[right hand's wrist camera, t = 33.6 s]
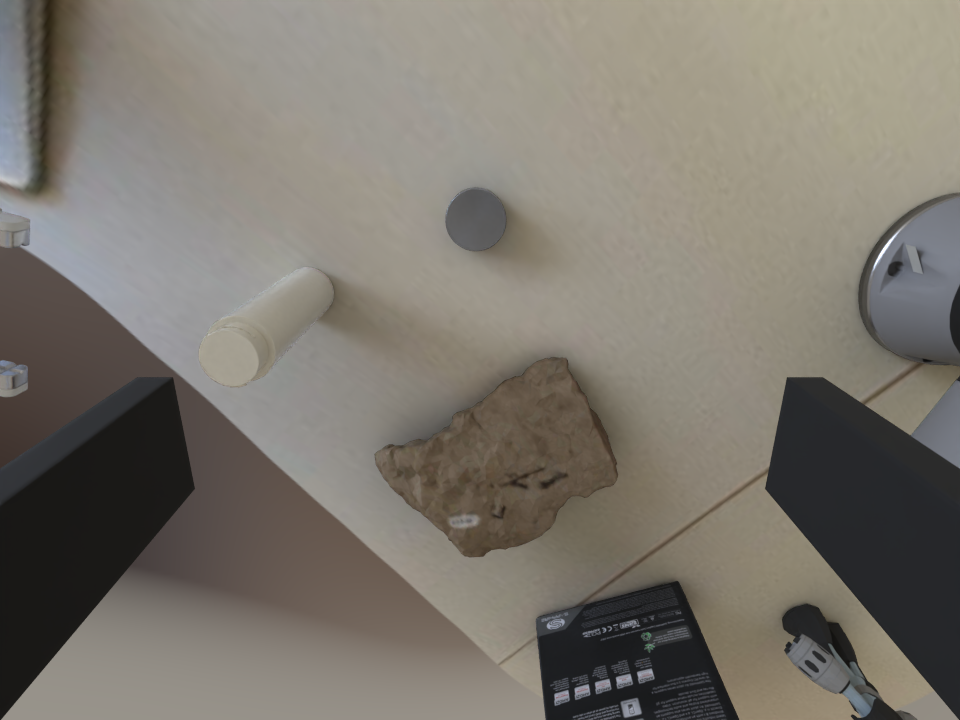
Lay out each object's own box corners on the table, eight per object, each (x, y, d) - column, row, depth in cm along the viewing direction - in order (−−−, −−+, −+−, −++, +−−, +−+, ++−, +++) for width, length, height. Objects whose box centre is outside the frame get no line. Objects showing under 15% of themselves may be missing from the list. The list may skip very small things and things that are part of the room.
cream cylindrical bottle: (276, 274, 53) (179, 334, 35) (323, 261, 52) (247, 315, 35) (295, 321, 54) (210, 400, 37) (341, 308, 54) (276, 382, 37)
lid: (516, 226, 51) (517, 230, 49) (467, 258, 52) (466, 262, 50) (484, 175, 50) (485, 176, 48) (435, 208, 51) (433, 211, 49)
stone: (448, 571, 60) (447, 599, 54) (373, 449, 59) (363, 464, 53) (625, 468, 59) (643, 484, 53) (552, 343, 58) (562, 346, 52)
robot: (883, 655, 68) (1038, 850, 49) (850, 679, 69) (989, 878, 50) (773, 569, 64) (896, 746, 45) (739, 596, 65) (845, 779, 46)
